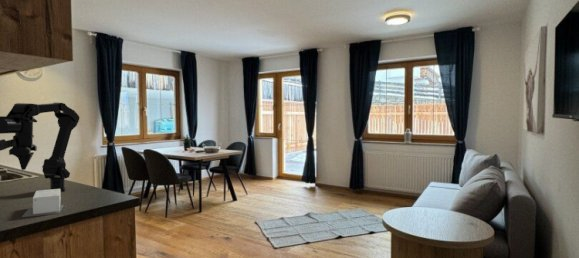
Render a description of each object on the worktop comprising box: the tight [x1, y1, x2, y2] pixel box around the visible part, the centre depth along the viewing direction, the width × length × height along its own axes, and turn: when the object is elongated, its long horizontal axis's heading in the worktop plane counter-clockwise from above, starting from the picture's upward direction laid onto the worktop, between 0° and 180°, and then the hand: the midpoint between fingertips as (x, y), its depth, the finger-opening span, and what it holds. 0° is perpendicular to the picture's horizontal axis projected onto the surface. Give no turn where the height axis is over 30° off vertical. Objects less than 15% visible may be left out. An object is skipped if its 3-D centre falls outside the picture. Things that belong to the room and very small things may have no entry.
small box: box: [32, 189, 62, 215], centre depth 124 cm, size 8×6×13 cm
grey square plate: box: [21, 204, 65, 218], centre depth 122 cm, size 11×11×1 cm
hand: (23, 169), depth 135 cm, fingers closed
